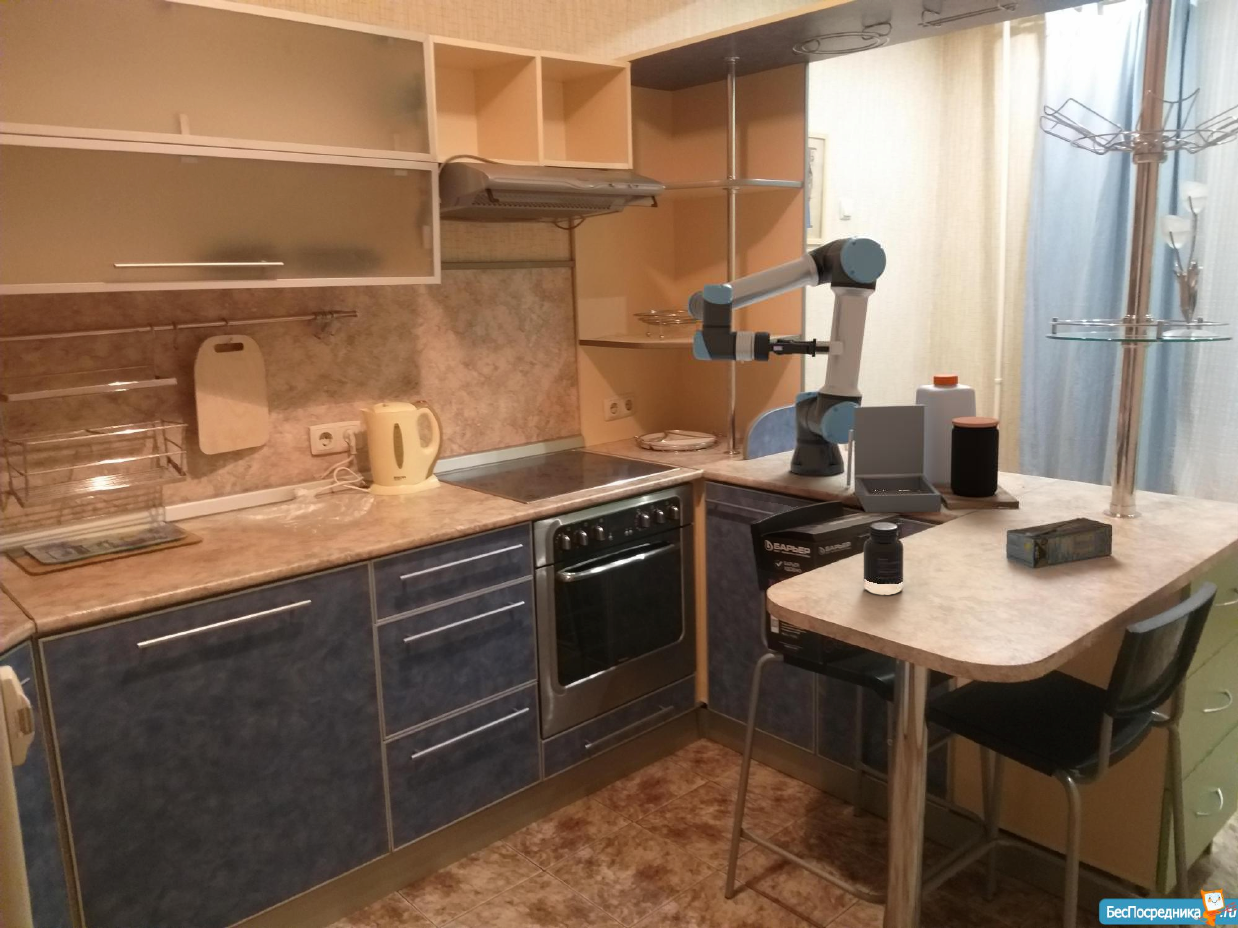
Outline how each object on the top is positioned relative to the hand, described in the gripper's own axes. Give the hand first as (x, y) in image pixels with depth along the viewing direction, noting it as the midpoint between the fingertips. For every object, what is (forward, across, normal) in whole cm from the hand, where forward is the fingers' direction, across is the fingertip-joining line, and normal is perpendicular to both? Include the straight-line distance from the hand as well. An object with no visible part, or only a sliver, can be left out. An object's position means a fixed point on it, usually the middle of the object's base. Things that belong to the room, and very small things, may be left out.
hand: (842, 348), depth 235 cm
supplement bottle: (+7, +76, -39) cm, 86 cm away
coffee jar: (+32, +8, -34) cm, 48 cm away
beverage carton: (+41, +54, -37) cm, 78 cm away
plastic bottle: (+28, -13, -35) cm, 47 cm away
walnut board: (+33, +8, -36) cm, 49 cm away
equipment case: (+13, +7, -36) cm, 39 cm away
